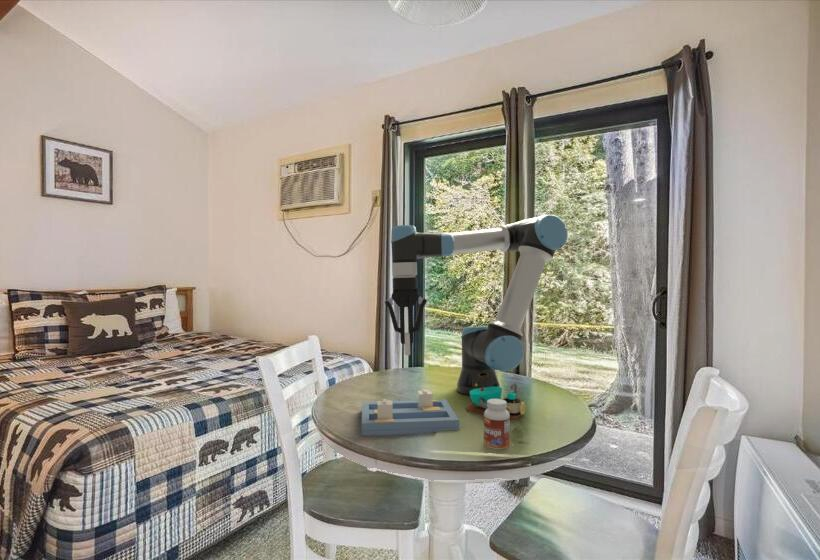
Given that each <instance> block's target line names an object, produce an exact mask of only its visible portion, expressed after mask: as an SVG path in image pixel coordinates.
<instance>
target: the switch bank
mask: <svg viewBox="0 0 820 560" xmlns="http://www.w3.org/2000/svg"><path fill="white" fill-rule="evenodd" d="M392 404H393V419H377V401H362V403H361V436H362V435H379V436H395V435H396V436H398V435H419V434H420V435H421V434H422V435H423V434H436V433H437V432H438V431H440V432H442V431H458V430H461V429H460V418H459V417H458V415H457V414H456V412H455V411H454V409H453V408H452V406H451V405H450V404H449V402H448V400H447V399H445V398H444V399H435V398H434V399H433V407H422V408H418V399H416V400H415V399H414V400H392ZM392 434H393V435H392Z"/></svg>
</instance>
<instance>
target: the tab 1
mask: <svg viewBox="0 0 820 560" xmlns="http://www.w3.org/2000/svg"><path fill="white" fill-rule="evenodd" d="M392 401H393V400H389V399H386V398H383V399H382V400H377V401H376V402H377V419H393V404H392Z"/></svg>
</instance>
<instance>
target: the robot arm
mask: <svg viewBox="0 0 820 560" xmlns="http://www.w3.org/2000/svg"><path fill="white" fill-rule="evenodd" d="M416 228H417V227H416V226H415V225H414V224H413V225H411V224H408V225H407V224H405V225H404V224H402V225H401V224H400V225H394V226H393V227H392V228H391V234H390V235H391V238H390V245H391V258H392V259H391V260H392V261H391V262H392V263H391V264H392V265H391V266H392V267H391V268H392V271H391V273H392V276H393V278H392V293H391V297H390V298H388V299H386V300H385V301H384V304H385V305H386V307H387V308H388V311H389V316H390V318H391V324H392V326H393V330H394V331H395V332H396V333H399V334H400V336H399V337H400V339H399V340H400V343H401V344H402V345H403V346H404V347H403V348H404V355H405V356H410V355H411V344H414V333H415V332H418V331H419V330H420V326H421V322H422V321H421V320H422V318H423V312H424V307H425V305H426V304H427V301H428V300H427V299H426V298H423V297H422V296H421V295H420V293H419V291H418V290H419V289H418V288H419V287H418V285H419V284H418V278H417V277H416V276H417V275H418V260H421V259H428V258H436V257H437V258H438V257H439V258H443V257H451V256H453V255H460V254H462V255H463V254H471V253H478V252H488V251H497V250H499V251H500V252H502V253H505V252H519V254H520V256H519V258H518V260H517V263H516V266H515V269H514V271H513V274H512V276H511V278H510V281H509V284H508V285H507V286H508V287H507V289H506V292H505V293H504V297H503V300H502V301H501V305H500V308H499V310H498V312H497V316H496V318H495V319H494V320H493V321H490V322H489V323H488V325H480V326H465V327H463V328H462V329H461V371H460V374H459V377H458V379H457V383H456V391H457V392H458V393H460V394H463V395H467V396H470V393H469V392H470V391H471V390H473V389H477V388H482V385H483V381H484V385H483V388H485V387H501V384H500V382H499V379H498V375H497V372H496V371H499V372H505V373H506V372H510V371H512V370H514V369H515V368H517V367H518V366H519V365H520V364H521V362H522V360H523V357H524V351H525V350H524V347H523V343H522V341H523V338H524V334H523V332H522V327H523V324H524V321H525V318H526V316H527V314H528V311H529V309H530V305H531V303H532V300H533V298H534V295H535V292H536V289H537V287H538V284H539V281H540V280H541V277H542V274H543V272H544V268H545V266H546V263H549V262H550V261H551V262H552V260H553V257H554V255H555V253H556V250H560V249H561V248H563V247H564V245H566V242H567V241H568V229H567V227H566V224H565V222H564V220H562V219H561V218H560V217H559V216H557V215H555V214H542V215H539V216H537V217H532V218H526V219H522V220H519V221H516V222H513V223H508V224H501V225H499V226H498V227H496V228H488V229H480V230H469V231H460V232H459V231H458V232H443V231H440V232H437V231H436V232H434V231H433V232H418V231H417V229H416ZM417 301H418V302H417ZM394 303H395V304H396V306H397V307H398V308H399V309H398V310H399V325H398V322H397V317H396V315H395V311H394V308H393V305H394ZM416 303H418V308H417V313H416V316H415V322H414V314H413V313H414V311H413V310H414V309H413V308H414V306H415V304H416ZM405 308H407V325H408V326H407V328H408V329H407V330H408V331H407V332H406V329H405V328H406V327H405ZM483 372H486V373H488V374H489V377H488V378H487V379H484V380H483V379H479V378H478V374H479V373H483ZM485 376H487V375H481V377H485ZM478 379H479V381H478V382H477V380H478ZM476 383H477V384H478V385H477V386H475V384H476Z"/></svg>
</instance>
